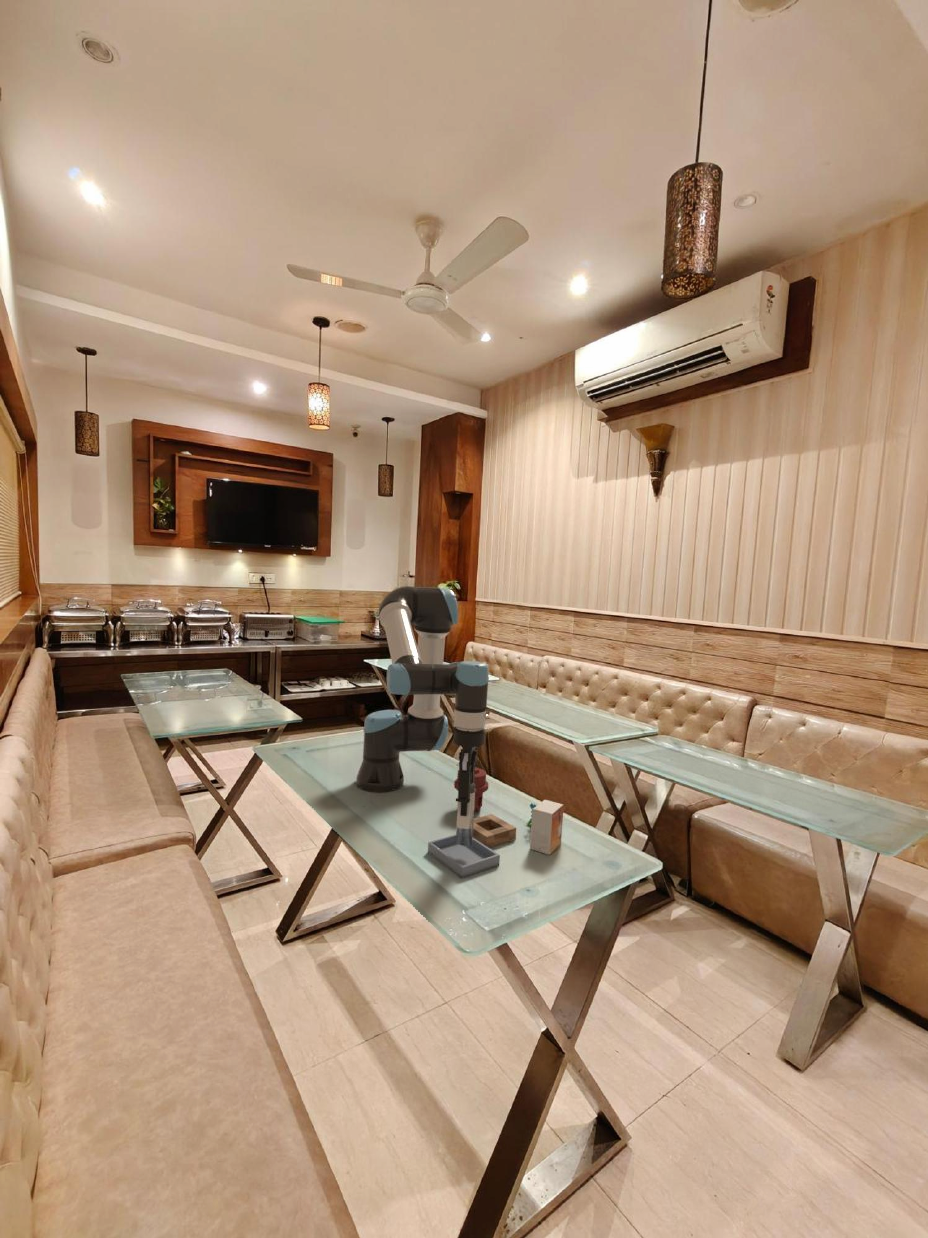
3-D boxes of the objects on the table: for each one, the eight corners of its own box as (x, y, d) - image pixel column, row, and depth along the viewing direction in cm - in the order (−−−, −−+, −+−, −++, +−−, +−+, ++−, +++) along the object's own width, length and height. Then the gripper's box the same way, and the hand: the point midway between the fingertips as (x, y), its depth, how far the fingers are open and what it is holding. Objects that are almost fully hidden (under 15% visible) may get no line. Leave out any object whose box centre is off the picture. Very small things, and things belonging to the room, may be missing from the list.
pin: (452, 840, 131) (455, 783, 130) (465, 836, 134) (468, 780, 133) (462, 847, 128) (465, 788, 127) (475, 843, 131) (478, 785, 130)
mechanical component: (489, 805, 164) (484, 818, 154) (456, 801, 166) (449, 814, 156) (491, 765, 163) (486, 776, 154) (459, 761, 165) (451, 772, 156)
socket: (462, 833, 145) (462, 822, 145) (491, 824, 151) (491, 814, 151) (486, 848, 137) (486, 837, 137) (515, 839, 143) (516, 828, 143)
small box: (549, 856, 135) (552, 814, 134) (529, 849, 138) (531, 808, 137) (561, 843, 142) (564, 804, 141) (542, 837, 145) (544, 798, 144)
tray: (427, 852, 134) (428, 842, 133) (463, 841, 140) (464, 831, 140) (461, 878, 122) (462, 867, 122) (499, 865, 129) (499, 855, 129)
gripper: (481, 738, 120) (476, 841, 122) (488, 720, 137) (484, 811, 139) (447, 735, 121) (443, 837, 123) (459, 717, 138) (455, 808, 140)
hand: (464, 823), depth 131 cm, fingers closed on pin, 4 cm apart
